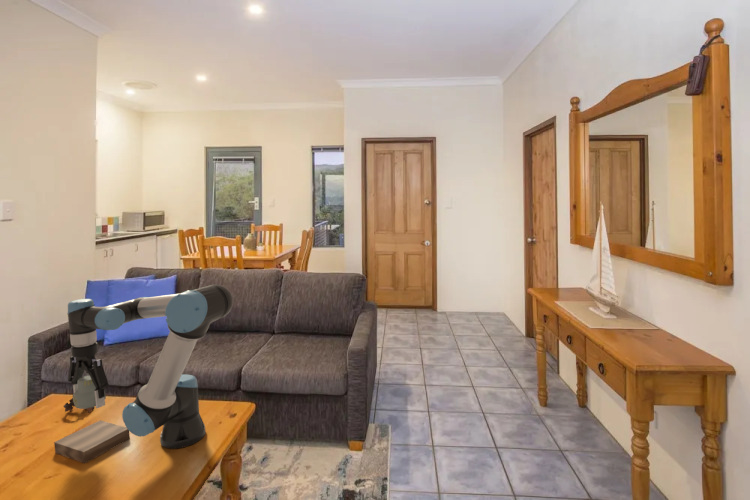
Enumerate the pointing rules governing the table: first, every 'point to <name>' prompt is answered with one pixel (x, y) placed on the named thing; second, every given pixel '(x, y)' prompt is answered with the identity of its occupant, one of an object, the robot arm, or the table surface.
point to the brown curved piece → (69, 406)
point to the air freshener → (85, 393)
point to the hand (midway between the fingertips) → (89, 403)
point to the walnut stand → (91, 441)
